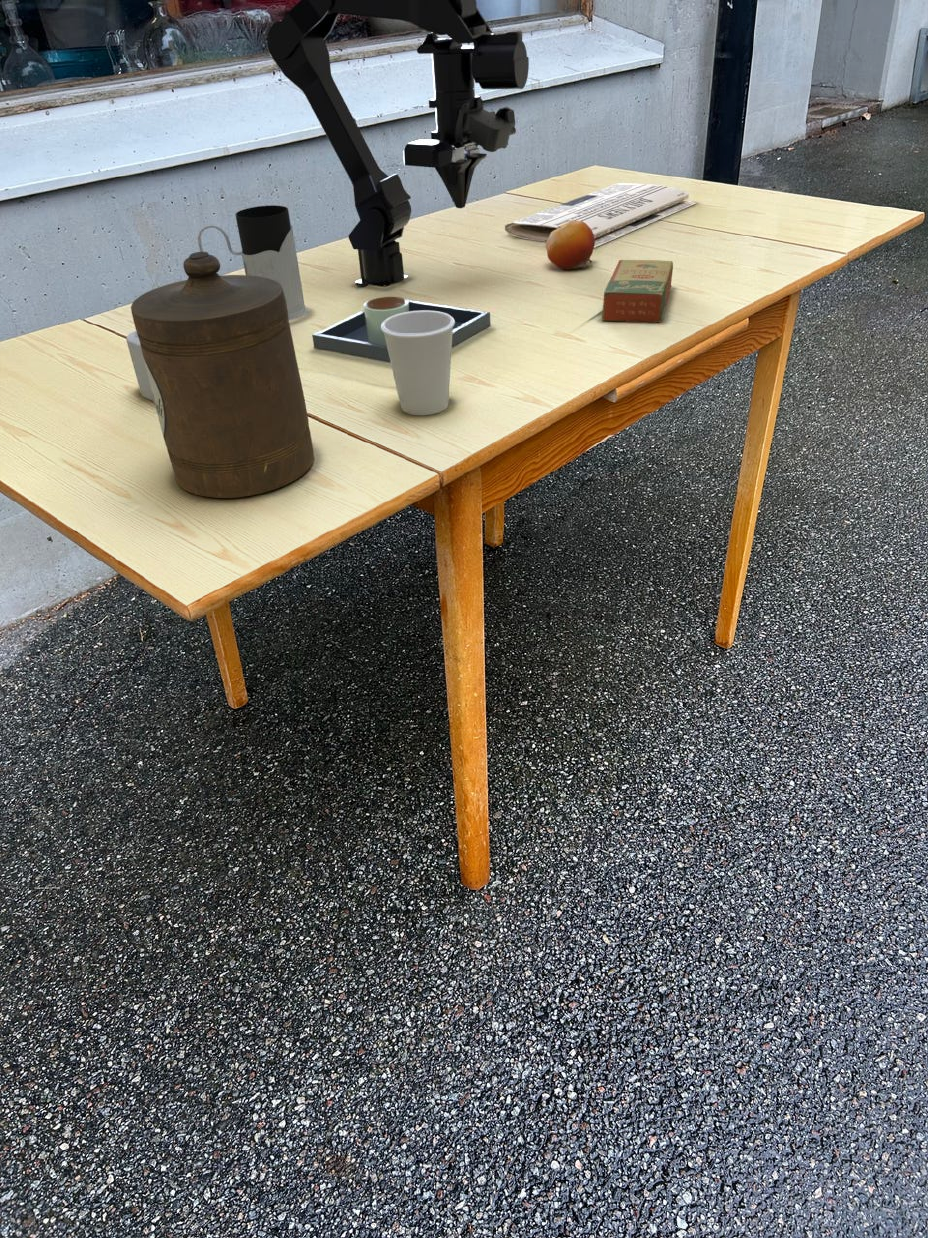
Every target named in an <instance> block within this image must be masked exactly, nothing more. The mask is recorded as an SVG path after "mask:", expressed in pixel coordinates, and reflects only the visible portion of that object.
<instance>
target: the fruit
mask: <svg viewBox="0 0 928 1238" xmlns="http://www.w3.org/2000/svg"><path fill="white" fill-rule="evenodd" d="M545 243H546V244H545V249H546V254H547V259H548V260H549V261H550V262H551V263H552V264H553V265H554V266H555V267H557V268H559V269H562V270H566V271H567V270H573V269H577V268H586V269H587V264H588V262H590V263H593V261H592V260H591V256H593V253H594V249H595V248H594V245H595V238H594V234H593V232H592V230H591V229H590V227H589V226H588V225H587V224H586V223H584V222H583V221H570V222H567V223H566V224H563V225H562V226H560V227H558V228H557V229H556V230H554V231H552V232H551V234H550V236H549V238H548V240H547V242H545Z"/></svg>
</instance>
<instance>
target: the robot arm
mask: <svg viewBox="0 0 928 1238" xmlns="http://www.w3.org/2000/svg"><path fill="white" fill-rule="evenodd" d="M477 5H478V4H477V0H299V1H298V2H297V3H296V4H295V5H294V6H293V7H292V8H291V9H290V10H289V11H287V12H286V14H285V15H284V16H283V18H282V19H281V20H277V21H275V22H274V23H272V24H271V26H270V28H269V30H268V32H267V40H266V49H267V51H268V54H269V55H270V57H271V59H272V60H273V62H274V63H275V64H276V66H277V67H278V68H279V70H280V71H281V73H282V75H283V76H284V77H286V78H287V80H289V81H290V82H291V83H292V84H293V85H294V86H295V87H297V88H298V89H299V90H300V91H301V92H302V93H303V94H304V96H305V98H306V100H307V102H308V104H309V106H310V107H311V109H312V111H313V113H314V114H315V117H316V119H317V120H318V122H319V124H320V126H321V128H322V130H323V132H324V134H325V136H326V137H327V139H328V141H329V143H330V145H331V146H332V149H333V150H334V153H335V154H336V156H337V158H338V159H339V161H340V164H341V165H342V167H343V169H344V171H345V173H346V175H347V177H348V178H349V180H350V182H351V185H352V189H353V191H352V192H353V200H354V208H355V210H356V213H357V215H358V218H359V221H358V223H357V224H355V226H354V227H353V228H352V230H351V232H350V233H349V234H348V236H347V237H348V240H349V242H350V245H351V247H352V249H353V250H357V255H358V256H357V257H358V261H359V262H358V263H359V271H360V279H358V280H355V282H354V283H355V285H356V286H361V287H368V286H376V287H383V288H386V287H389V286H391V285H393V284H397V283H398V282H401V281H403V280H404V279H406V278H409V275H408V274H405V273H404V261H403V260H404V259H403V254H402V252H401V248H400V242H399V241H396V240H397V239H400V238H402V237H403V235H404V234H403V233H404V229H405V227H406V226H407V225H408V224H409V222H410V219H411V215H412V206H411V203H410V201H409V200H411V195H410V194H408V193H407V191H406V189H405V187H404V185H403V183H402V179H401V177H400V176H399V175H398V173H394V174H392V175H391V176H389V175H388V174H386V173H385V172H384V171H383V170H382V169H381V168H380V167H379V165H378V162H377V161H376V158H375V157H374V155H373V153H372V151H371V149H370V147H369V146H368V143H367V142H366V139H365V138H364V136H363V134H362V132H361V129H360V128H359V127H358V124H357V122H356V120H355V119H354V117H353V115H352V112H351V111H350V109H349V107H348V105H347V103H346V101H345V99H344V98H343V95H342V94H341V92H340V90H339V88H338V86H337V83H336V82H335V80H334V78H333V75H332V71H331V69H332V68H331V59H330V53H329V50H328V46H327V43H326V41H325V40H326V39H327V37H328V36H329V35H330V33H331V32H332V31H333V29H334V28H335V25H336V22H337V21H338V18H339V16H340V15H346V16H347V15H348V16H357V17H366V18H375V19H386V20H399V21H402V22H406V23H408V24H411V25H412V26H414V27H416V28H418V29H421V30H424V31H427V32H429V33H426V36H425V38H424V40H423V41H422V42H421V43H420V45H419V46H418V47H417V48H416V52H417V54H419V55H430V54H431V59H432V61H431V62H432V76H433V89H434V90H433V91H434V94H433V95H434V98H431V99H428V108H429V109H435V110H434V111H435V123H436V130H434V131H430V139H424V138H421V139H418V140H415V141H411V142H408V143H407V144H406V145H405V147H403V149H402V154H403V164H404V166H406V167H407V166H408V167H419V168H432V169H435V171H436V172H437V174H438V176H439V177H440V179H441V181H442V183H443V185H444V186H445V189H446V190H447V192H448V194H449V196H450V198H451V200H452V202H453V204H454V206H455V208H456V209H464V208H465V207H466V204H467V199H468V195H469V191H470V187H471V183H472V179H473V176H474V172H475V169H476V167H477V166H478V165H479V164H480V163H481V162H482V161H483V160H484V159H486V157H487V156H488V155H487V153H482V152H481V153H480V148H479V147H481V148H482V149H483V150H484V151H486V152H489V153H494V152H495V153H496V152H497V150H500V149H507V147H508V146H509V140H510V136H512V135H515V134H516V133H517V129H516V117H515V115H516V114H515V110H514V109H512V108H510V107H509V106H504V107H501V108H499V109H498V110H497V111H496V112H495V111H494V110H493V111H488V110H486V109H484V101H483V99H482V96H481V95H476V91H475V90H476V89H475V84H479V87H480V88H481V90H523V89H524V88H525V86H526V84H527V82H528V77H529V71H530V70H529V69H530V67H529V66H530V57H529V56H528V52H527V48H526V45H525V43H524V41H523V31H522V30H512V31H508V32H493V30H492V29H491V27H490V26H489V24H488V23H487V20H486V19H485V18H484V16H483V14H482V13H481V12H480V10H479V9H478V7H477ZM438 35H440V36H448V37H449V38H440V37H439V36H438ZM463 44H473V45H463ZM478 146H479V147H478Z"/></svg>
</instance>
